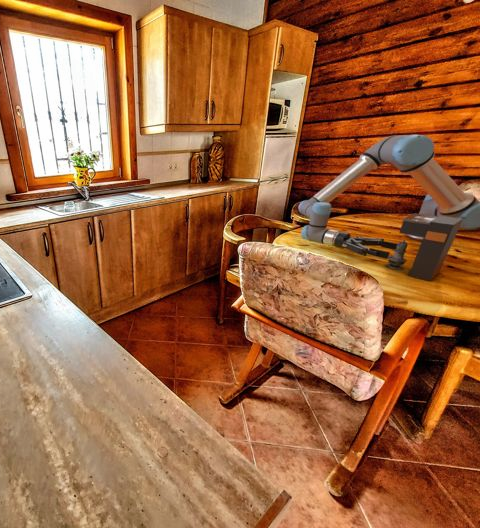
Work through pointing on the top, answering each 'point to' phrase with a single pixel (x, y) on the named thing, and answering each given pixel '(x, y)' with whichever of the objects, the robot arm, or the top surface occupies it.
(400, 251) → the dark grey chess piece
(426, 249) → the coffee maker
